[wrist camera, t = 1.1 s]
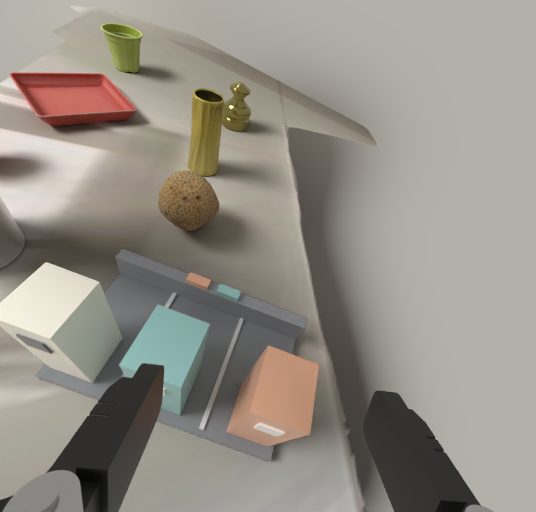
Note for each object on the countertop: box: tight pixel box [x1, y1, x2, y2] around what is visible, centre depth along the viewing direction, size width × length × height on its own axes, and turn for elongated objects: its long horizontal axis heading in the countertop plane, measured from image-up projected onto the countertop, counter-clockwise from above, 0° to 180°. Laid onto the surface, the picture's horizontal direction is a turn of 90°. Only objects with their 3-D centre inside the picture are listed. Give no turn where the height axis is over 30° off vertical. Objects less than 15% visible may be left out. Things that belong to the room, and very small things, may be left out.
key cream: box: [0, 262, 123, 383], centre depth 24 cm, size 5×4×12 cm
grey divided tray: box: [35, 249, 307, 461], centre depth 30 cm, size 15×25×6 cm, turn 75°
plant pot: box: [101, 23, 142, 73], centre depth 72 cm, size 9×9×9 cm
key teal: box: [119, 305, 210, 415], centre depth 24 cm, size 5×4×12 cm
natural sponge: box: [158, 171, 219, 231], centre depth 41 cm, size 9×9×10 cm
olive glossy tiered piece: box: [222, 82, 251, 131], centre depth 67 cm, size 7×7×10 cm
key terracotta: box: [226, 345, 319, 447], centre depth 25 cm, size 5×4×12 cm
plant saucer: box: [9, 73, 137, 126], centre depth 57 cm, size 18×18×3 cm
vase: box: [188, 88, 224, 176], centre depth 51 cm, size 6×6×14 cm
